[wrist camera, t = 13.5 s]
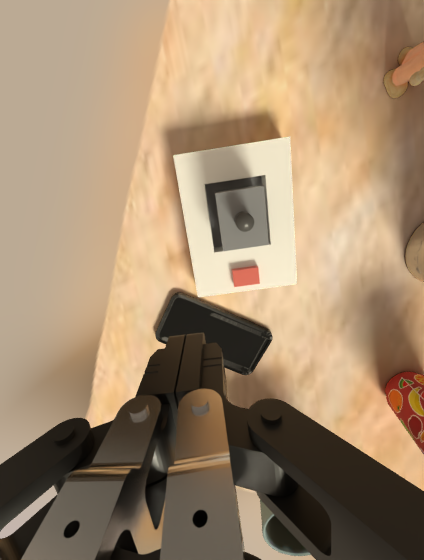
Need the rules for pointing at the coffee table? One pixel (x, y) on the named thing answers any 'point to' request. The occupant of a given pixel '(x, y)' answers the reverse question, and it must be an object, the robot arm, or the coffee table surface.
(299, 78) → the coffee table surface
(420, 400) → the smoothie
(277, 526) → the green cup
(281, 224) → the socket plate
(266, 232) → the plug
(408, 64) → the grandmother figurine
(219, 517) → the robot arm
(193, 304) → the phone
